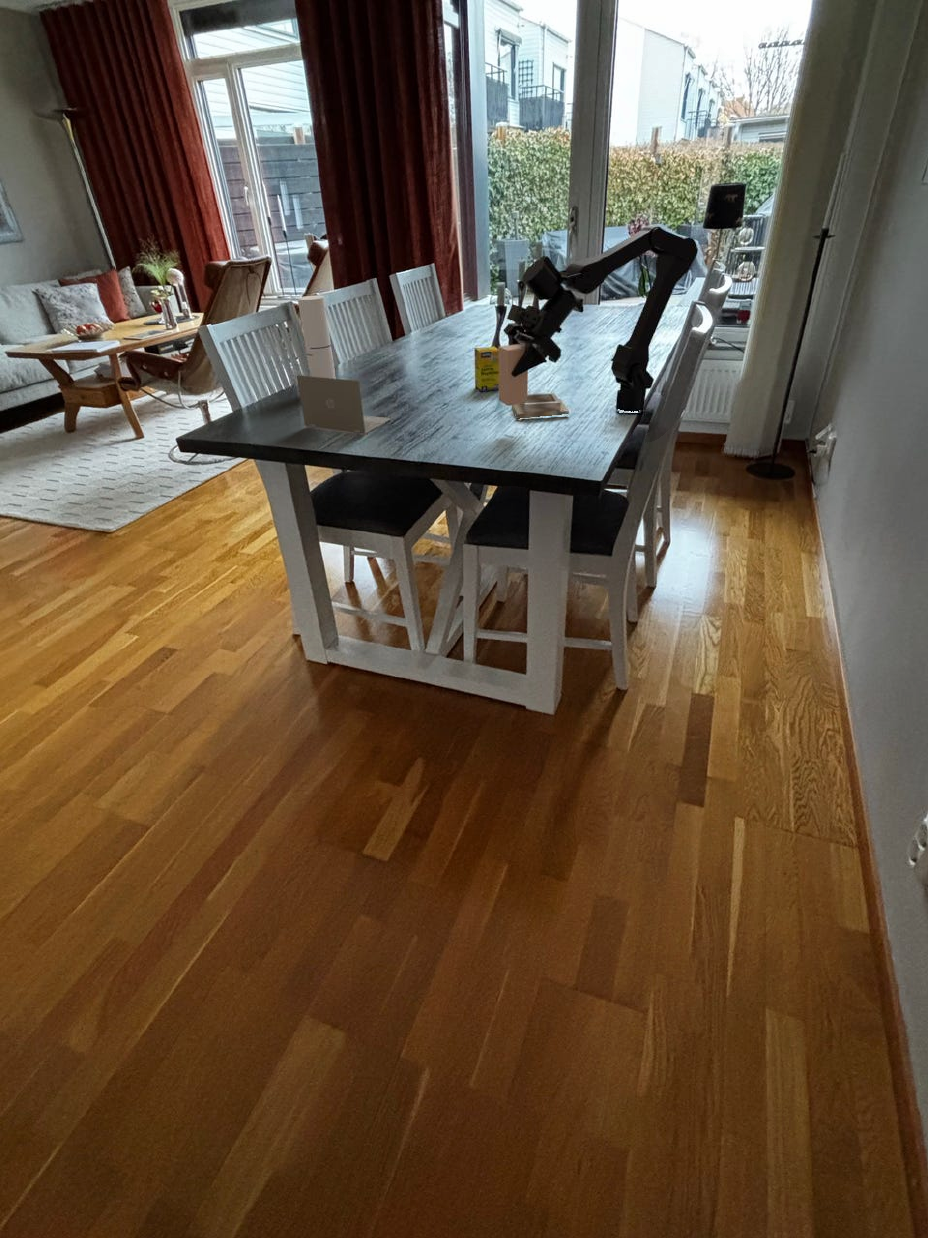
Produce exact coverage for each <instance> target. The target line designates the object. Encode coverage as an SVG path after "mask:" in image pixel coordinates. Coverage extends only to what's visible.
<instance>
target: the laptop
mask: <svg viewBox="0 0 928 1238" xmlns="http://www.w3.org/2000/svg"><path fill="white" fill-rule="evenodd" d="M296 381H297V388H298V392H299V393H298V394H299V399H300V404H301V410H302V416H303V421H304V425H305V428H307V429H314V430H321V431H329V432H335V433H336V432H338V433H345V434H353V435H361V436H368V435H369V434H370V433H372V432H374V431H376V430H377V429H378V428H380V427H382V426H383V425H385V424H387V422H390V421H391V420H392V418H390V417H382V416H373V415H364V411H363V404H362V395H361V387H360V381H359V380H353V379H352V380H350V379H343V378H342V379H340V378H336V379H332V378H321V377H311V376H310V375H309V376H307V375H298V374H297V375H296Z"/></svg>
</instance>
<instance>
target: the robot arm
mask: <svg viewBox="0 0 928 1238" xmlns="http://www.w3.org/2000/svg"><path fill="white" fill-rule="evenodd" d="M649 251H650V252H652V253H653V254H655V255H656V256H657V257H656V259H655V260H656V261H655V278H654V281H653V284H651V285H652V286H651V287H650V290H649V293H648V295H647V297H646V300H645V303H644V304H643V307H642V310H641V312H640V314H639V317H638V319H637V320H636V323H635V325H634V329H633V331H632V333H631V336H630V338H629V339H628V341H626V343H625V344H620V343H618V345H617V347H616V349H615V352H614V355H613V357H612V358H611V359H610V361H611V367H610V369H611V371H612V375H613V376H614V378H615V383H616V384H620V385H619V389H618V390H617V392H616V399H615V400H616V402H615V409H616V410H618V409H620V410H624V411H631V412H632V411H633V412H634V411H638V412H639V410H642V411H641V413H642V414H641V415H644V414H645V400H646V394H647V390H649V389H652V386H653V383H654V382H655V379H654V378H653V376H652V375H651V374H650V373H649V371H648V370H647V368H648V365H649V361H650V351H649V350H650V344H651V343H652V341H653V337H654V335H655V333H656V331H657V329H658V327H659V324H660V321H661V319H662V317H663V314H664V312H665V309H666V307H667V305H668V302H669V301H670V298H671V295H672V294H673V292H674V289H675V287H676V285H677V283H678V282H679V281H680V280H681V279H682V278H683V277H684V276H685V275H686V274H687V273H688V272H689V270H690V269H691V267H692V265H693V263H694V262H695V260H696V258H697V256H698V255H697V254H698V253H699V252H698V251H699V248H698V247H697V242H696V240H695V239H694V238H693V237H688V236H679V235H677V234H674V233H672V232H669V231H667V230H665V229H664V228H662V227H661V226H657V225H646V226H644V227H642V228H641V229H640V230H639V231H637V232H635V233H634V234H633V235H631V236H629V237H628V238H626V239H624V240H622V241H621V242H619V243H617V244H615V245H613V246H612V247H610V248H609V249H607V250H605V251H604V252H602V253H601V254H598V255H595V256H592V257H587V258H583V259H580V260H577V261H575V262H572V263H570V264H569V265H568V266H567V267H566V268H565V269H563V270H558V269H557V268H556V266H555V265H554V264H553V262H552V260H551V258H550V257H549V256H547V255H542V256H541V258H539V260H537V261H535V262H533V263H532V264H531V265H530V266H528V267H527V268H526V270H525V271H524V273H523V275H522V279H521V280H522V282H523V284H525V286H526V287H527V288H528V289H529V290H530V291H531V293H532V294H534V297H536V298H537V299H538V301H544V300H545V301H546V302H545V303H544V304H543V306H542V307H541V308H540V309H539V308H538V307H535V306H533V305H529V304H528V306H526V308H525V307H522V306H520V305H516V304H511V306H510V309H509V312H508V314H507V317H506V320H509V321H512V323H508V324H507V325H506V326H505V327H504V329H503V332H504V334H505V335H507V338H508V341H509V342H508V343H509V345H514V344H520V345H522V346H524V347H525V351H524V354H523V355H522V357H521V358H520V360H519V361H518V363H517V365H516V366H515V368H514V369H513V371H512V373H511V375H512V376H513V377H516V376H518V375H520V374H522V373H524V372H525V371H527V370H528V371H529V370H531V369H533V368H536V367H538V366H539V365H541V364H544V363H545V364H546V363H547V362H548V361H550V362H552V363H554V364H557V362H558V361H559V359H561V357H562V349H561V348H560V346H559V345H558V344H557V343H556V342H555V341H554V340H553V339H552V338H553V336H554V335H555V334H556V333H557V334H561V332H562V330H563V329H562V327H561V326H562V325H563V323H564V322H565V321H566V319H567V318H568V317H569V316H570V314H571V313H572V311H574V312H578V313H584V299H583V298H581V297H577V296H576V295H575V294H574V293H573V292H575V293H578V294H583V295H589V294H592V293H593V292H594V291H595V290H597V289H598V288H599V287H600V286H602V285H603V283H605V281H606V279H607V278H608V277H609V276H610V275H611V274H612V273H613V272H615V271H617V270H618V269H620V268H622V267H624V266H625V265H626V264H629V263H630V262H632V261H634V260H635V259H637V258H639V257H641V256H642V255H643V254H646V253H647V252H649ZM563 286H565V287H566V288H567V289H565V288H564V287H563ZM514 322H515V323H514ZM547 357H548V358H547Z"/></svg>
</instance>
